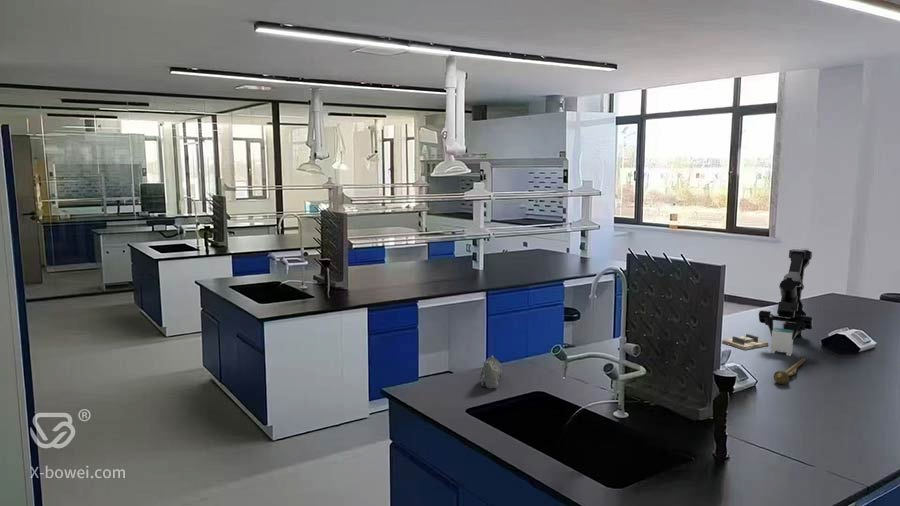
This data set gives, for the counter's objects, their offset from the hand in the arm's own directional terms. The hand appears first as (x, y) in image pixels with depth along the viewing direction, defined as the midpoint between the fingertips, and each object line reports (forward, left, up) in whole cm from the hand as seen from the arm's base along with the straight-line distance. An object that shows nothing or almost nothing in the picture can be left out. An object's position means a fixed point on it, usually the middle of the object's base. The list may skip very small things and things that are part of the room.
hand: (781, 337), depth 237 cm
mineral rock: (+103, +63, -7) cm, 120 cm away
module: (0, -1, -7) cm, 7 cm away
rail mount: (+11, -10, -7) cm, 17 cm away
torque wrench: (+2, +24, -7) cm, 25 cm away
